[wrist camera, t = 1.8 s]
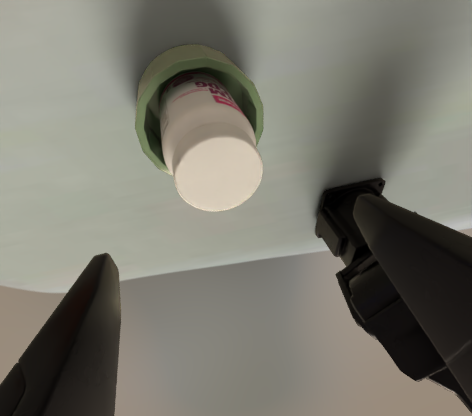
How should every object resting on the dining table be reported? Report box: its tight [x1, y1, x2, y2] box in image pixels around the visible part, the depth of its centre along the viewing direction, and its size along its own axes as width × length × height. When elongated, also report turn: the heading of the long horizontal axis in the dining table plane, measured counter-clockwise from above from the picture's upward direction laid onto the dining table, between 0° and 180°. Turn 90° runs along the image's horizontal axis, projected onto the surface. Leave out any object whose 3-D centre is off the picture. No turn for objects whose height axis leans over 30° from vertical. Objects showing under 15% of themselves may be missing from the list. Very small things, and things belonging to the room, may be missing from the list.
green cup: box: [135, 44, 263, 176], centre depth 17 cm, size 7×7×4 cm
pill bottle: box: [159, 71, 263, 211], centre depth 15 cm, size 5×5×8 cm
